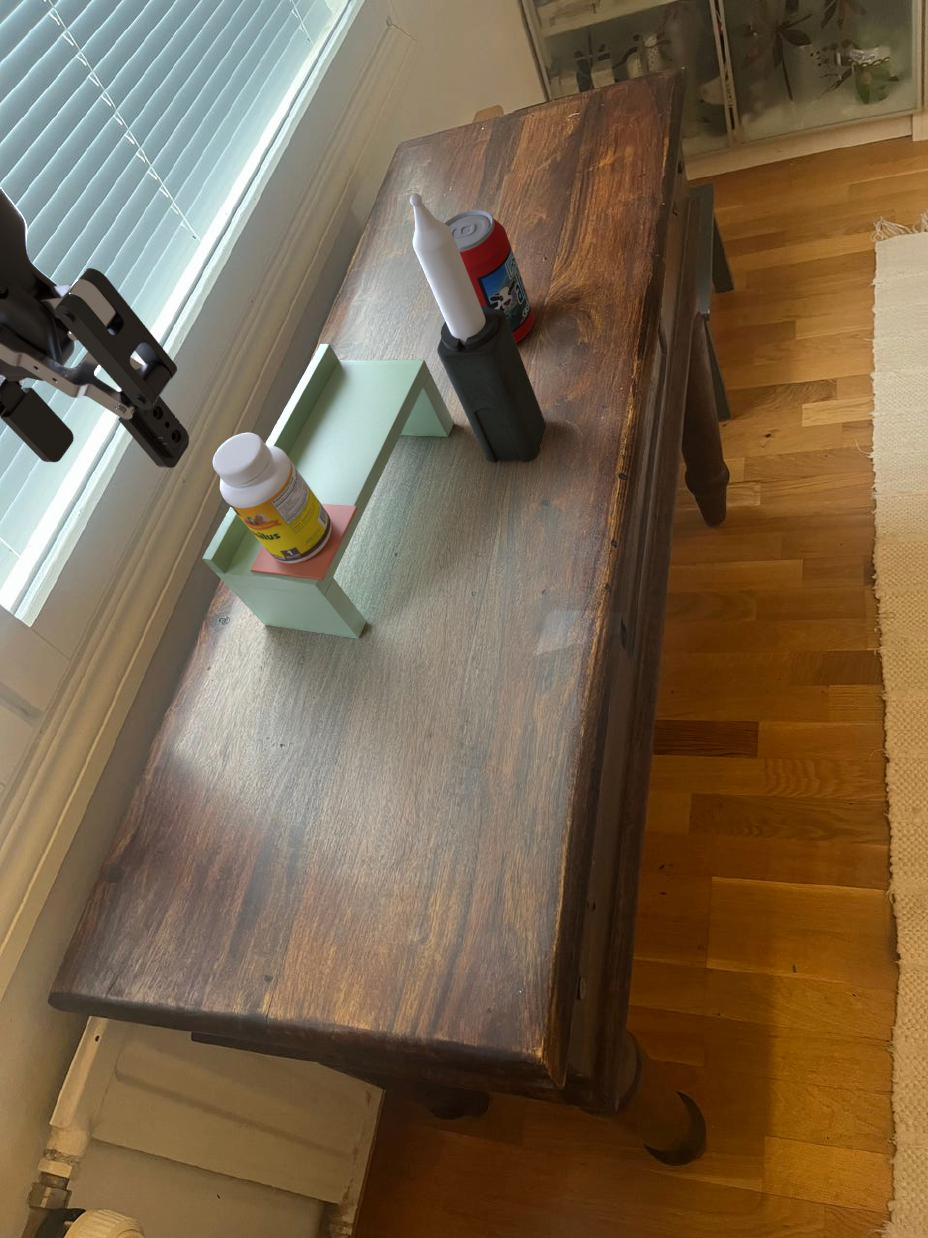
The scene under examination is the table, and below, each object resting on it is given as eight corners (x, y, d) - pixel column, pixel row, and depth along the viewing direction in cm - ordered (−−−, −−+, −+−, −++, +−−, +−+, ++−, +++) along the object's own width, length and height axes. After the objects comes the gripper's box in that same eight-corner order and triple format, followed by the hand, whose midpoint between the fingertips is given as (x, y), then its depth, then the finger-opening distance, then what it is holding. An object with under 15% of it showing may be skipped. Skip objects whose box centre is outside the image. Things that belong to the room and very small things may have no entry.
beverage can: (532, 351, 89) (495, 245, 80) (466, 361, 92) (423, 260, 82) (539, 303, 93) (505, 197, 83) (476, 314, 95) (435, 212, 86)
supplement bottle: (258, 551, 75) (187, 468, 66) (304, 501, 76) (239, 414, 68) (302, 577, 71) (233, 493, 63) (348, 525, 73) (286, 436, 65)
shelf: (363, 639, 77) (309, 571, 69) (263, 624, 82) (201, 558, 74) (459, 422, 87) (421, 341, 79) (365, 420, 92) (320, 343, 84)
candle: (548, 418, 84) (456, 165, 64) (536, 462, 81) (437, 213, 62) (496, 421, 86) (391, 176, 66) (483, 463, 83) (370, 223, 64)
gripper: (-285, 247, 39) (-9, 500, 51) (-71, 217, 32) (185, 514, 45) (-170, 142, 42) (62, 403, 55) (44, 96, 36) (252, 403, 48)
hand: (117, 453), depth 50 cm, fingers open, 8 cm apart
